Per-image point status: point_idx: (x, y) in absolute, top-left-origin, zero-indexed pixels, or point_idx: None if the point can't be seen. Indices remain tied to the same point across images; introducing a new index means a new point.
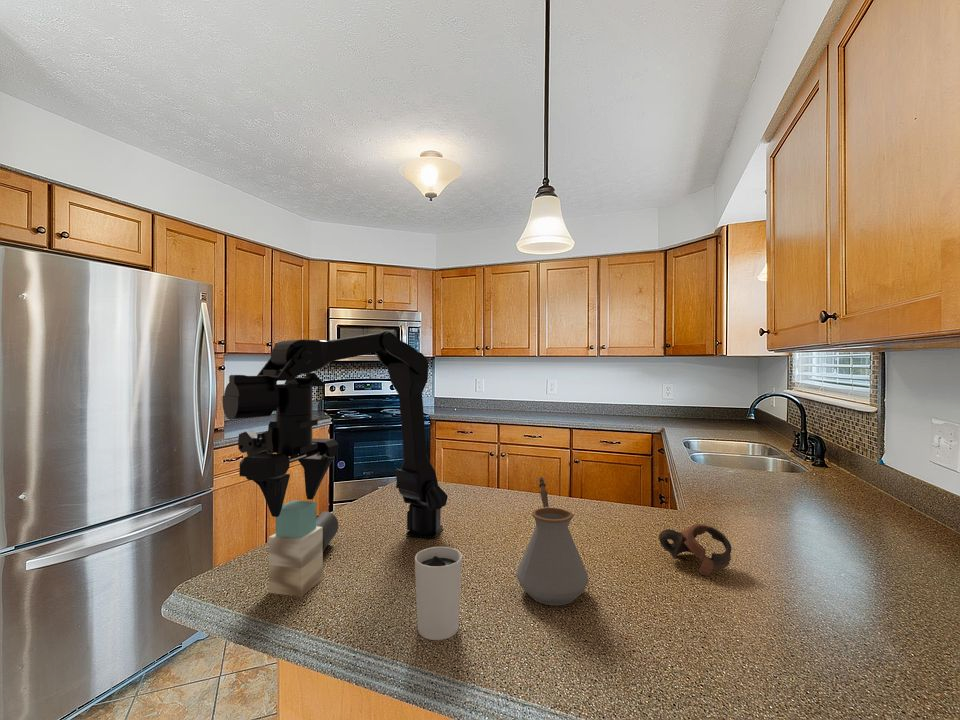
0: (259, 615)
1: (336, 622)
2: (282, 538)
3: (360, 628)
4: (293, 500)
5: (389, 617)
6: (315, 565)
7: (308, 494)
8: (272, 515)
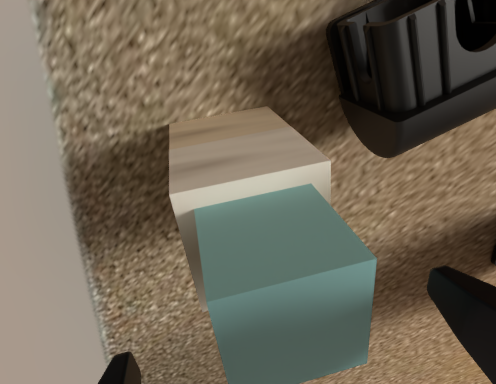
0: (83, 192)
1: (152, 319)
2: (185, 251)
3: (158, 353)
4: (370, 265)
5: (203, 362)
6: None
7: (451, 294)
8: (114, 362)
